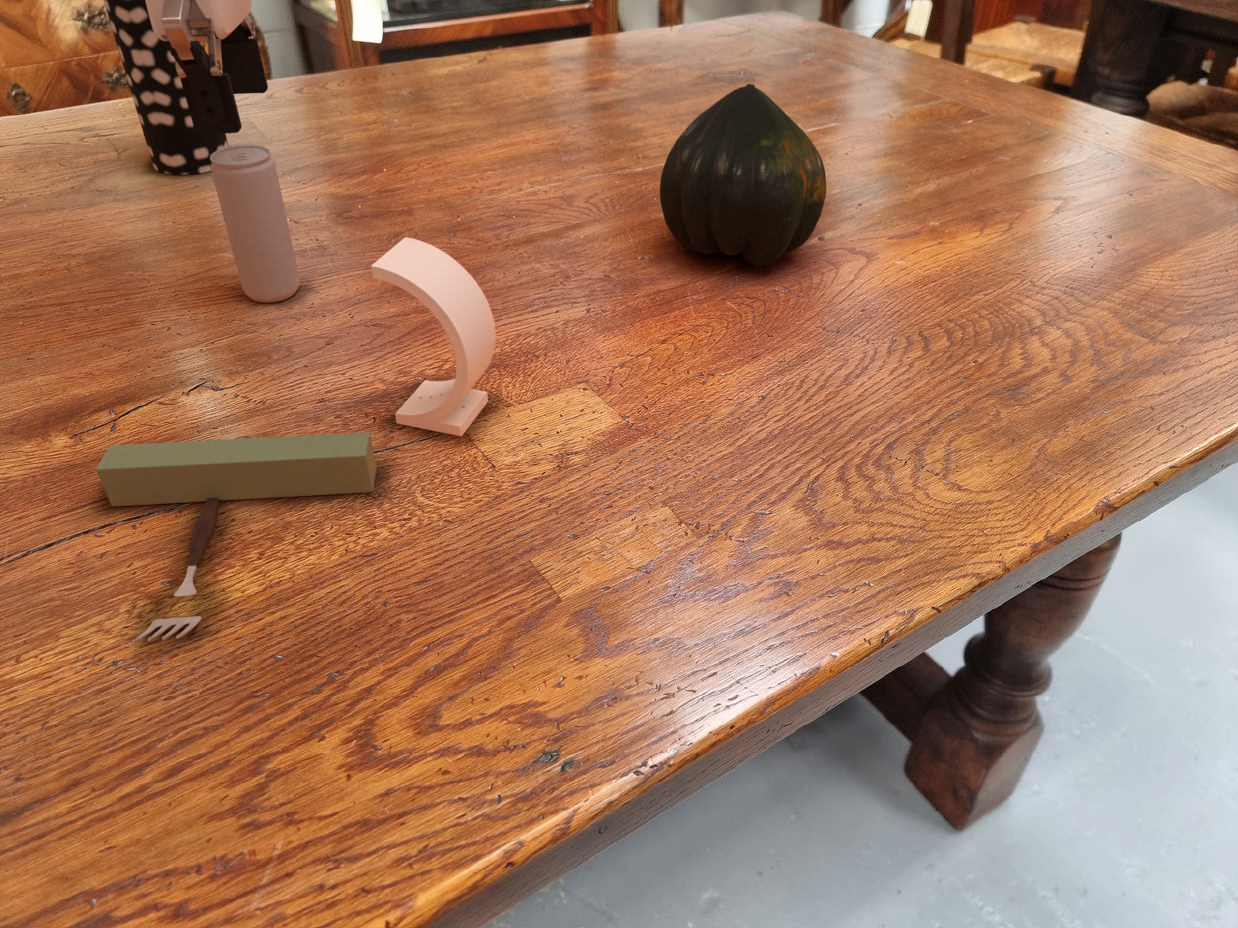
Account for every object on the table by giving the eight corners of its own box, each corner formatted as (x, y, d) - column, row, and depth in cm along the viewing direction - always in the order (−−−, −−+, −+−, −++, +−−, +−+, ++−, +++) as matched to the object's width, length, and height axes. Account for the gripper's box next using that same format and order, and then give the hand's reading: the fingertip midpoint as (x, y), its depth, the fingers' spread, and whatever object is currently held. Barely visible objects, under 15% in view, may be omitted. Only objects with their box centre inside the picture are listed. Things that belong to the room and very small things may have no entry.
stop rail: (111, 507, 57) (95, 469, 56) (123, 482, 59) (108, 444, 58) (372, 492, 59) (365, 455, 57) (377, 468, 61) (370, 431, 59)
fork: (245, 475, 61) (238, 450, 60) (192, 662, 48) (181, 636, 47) (204, 478, 60) (196, 453, 59) (139, 667, 48) (127, 641, 47)
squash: (737, 248, 76) (822, 80, 75) (607, 204, 84) (682, 52, 83) (801, 308, 87) (875, 164, 86) (680, 264, 96) (747, 132, 95)
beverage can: (298, 275, 83) (269, 141, 75) (304, 299, 79) (274, 161, 72) (242, 284, 81) (206, 147, 74) (245, 308, 78) (208, 168, 70)
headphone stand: (426, 389, 68) (405, 236, 61) (501, 404, 67) (489, 249, 60) (396, 423, 65) (370, 265, 57) (474, 439, 63) (458, 280, 56)
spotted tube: (215, 144, 109) (167, -46, 97) (243, 164, 104) (195, -34, 92) (143, 159, 105) (82, -38, 93) (168, 180, 100) (107, -25, 88)
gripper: (146, -166, 67) (211, 81, 77) (57, -143, 53) (150, 152, 64) (253, -167, 67) (303, 78, 78) (191, -145, 54) (262, 148, 64)
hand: (234, 111), depth 71 cm, fingers open, 9 cm apart
